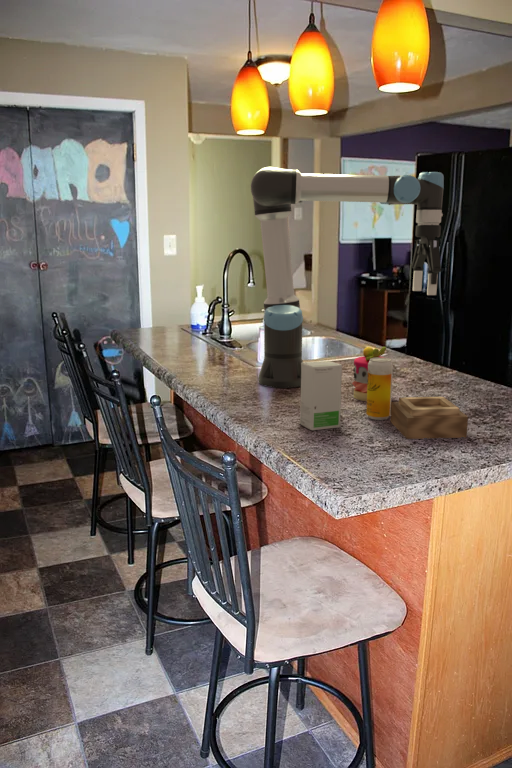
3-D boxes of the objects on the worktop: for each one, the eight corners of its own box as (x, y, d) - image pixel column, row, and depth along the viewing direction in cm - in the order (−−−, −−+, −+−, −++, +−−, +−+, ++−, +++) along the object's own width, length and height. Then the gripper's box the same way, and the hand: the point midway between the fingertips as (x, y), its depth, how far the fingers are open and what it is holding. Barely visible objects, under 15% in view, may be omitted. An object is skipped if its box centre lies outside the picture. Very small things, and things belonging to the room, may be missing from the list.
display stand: (406, 439, 150) (408, 411, 149) (390, 421, 164) (391, 396, 162) (466, 437, 151) (468, 410, 150) (445, 420, 165) (446, 394, 163)
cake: (345, 397, 186) (346, 345, 183) (364, 390, 194) (366, 340, 191) (378, 404, 180) (380, 350, 176) (396, 396, 188) (398, 344, 184)
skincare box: (311, 431, 156) (312, 367, 152) (298, 424, 162) (299, 362, 158) (341, 427, 159) (343, 364, 156) (328, 420, 165) (329, 359, 162)
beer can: (364, 413, 171) (366, 357, 167) (388, 413, 170) (390, 357, 167) (367, 420, 165) (370, 361, 161) (392, 420, 164) (395, 361, 161)
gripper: (455, 224, 193) (450, 296, 198) (426, 224, 217) (422, 289, 222) (430, 224, 192) (426, 296, 197) (404, 224, 216) (400, 289, 221)
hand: (424, 292), depth 210 cm, fingers open, 13 cm apart
